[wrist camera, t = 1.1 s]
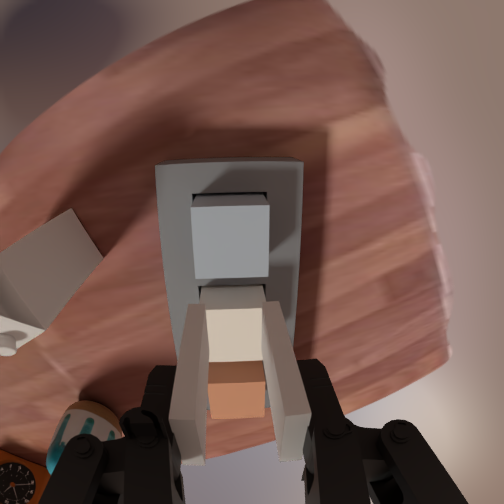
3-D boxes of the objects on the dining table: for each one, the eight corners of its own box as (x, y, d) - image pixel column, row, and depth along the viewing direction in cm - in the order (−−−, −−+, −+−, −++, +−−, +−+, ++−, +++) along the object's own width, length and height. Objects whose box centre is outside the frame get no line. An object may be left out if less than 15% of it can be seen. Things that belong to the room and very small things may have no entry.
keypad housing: (190, 384, 42) (187, 409, 37) (165, 160, 31) (154, 165, 26) (281, 380, 43) (287, 405, 38) (292, 157, 32) (303, 161, 27)
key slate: (200, 253, 31) (195, 278, 26) (197, 192, 29) (190, 207, 24) (261, 251, 32) (268, 276, 26) (261, 191, 30) (269, 205, 24)
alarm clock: (48, 467, 52) (28, 529, 33) (59, 482, 55) (43, 539, 36) (-4, 446, 50) (-28, 499, 31) (8, 462, 53) (-11, 513, 34)
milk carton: (35, 237, 32) (-64, 315, 15) (72, 206, 32) (-37, 279, 14) (66, 283, 35) (-13, 383, 17) (104, 257, 34) (24, 362, 16)
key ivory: (206, 328, 35) (204, 362, 29) (202, 280, 32) (198, 310, 27) (260, 326, 35) (266, 360, 30) (260, 278, 33) (267, 307, 27)
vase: (136, 431, 46) (118, 525, 28) (85, 427, 45) (58, 512, 27) (113, 390, 42) (82, 495, 24) (59, 388, 41) (19, 478, 24)
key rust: (212, 384, 38) (211, 418, 32) (208, 349, 36) (206, 383, 30) (259, 383, 38) (264, 416, 33) (260, 347, 36) (265, 381, 31)
